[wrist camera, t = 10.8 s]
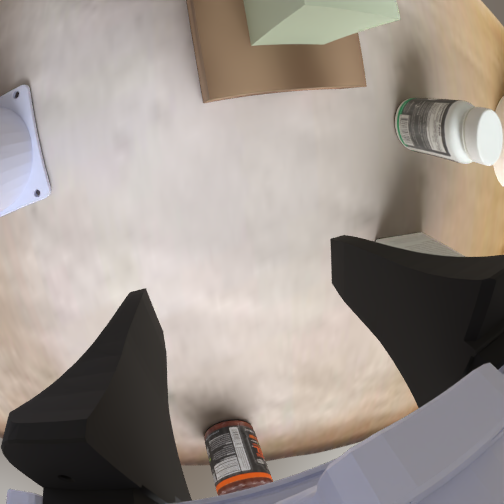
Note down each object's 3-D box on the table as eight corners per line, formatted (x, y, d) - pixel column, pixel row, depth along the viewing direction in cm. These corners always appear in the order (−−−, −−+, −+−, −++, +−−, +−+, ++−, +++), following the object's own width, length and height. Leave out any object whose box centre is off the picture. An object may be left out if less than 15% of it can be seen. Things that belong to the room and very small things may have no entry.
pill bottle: (435, 119, 22) (510, 132, 14) (416, 160, 23) (492, 184, 16) (405, 86, 20) (486, 89, 12) (384, 130, 21) (467, 145, 14)
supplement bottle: (258, 432, 33) (288, 508, 23) (215, 448, 32) (236, 523, 22) (243, 411, 30) (274, 498, 20) (194, 428, 29) (214, 516, 19)
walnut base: (203, 103, 17) (209, 99, 15) (182, -27, 13) (185, -47, 10) (342, 88, 19) (366, 86, 16) (319, -27, 14) (339, -41, 12)
